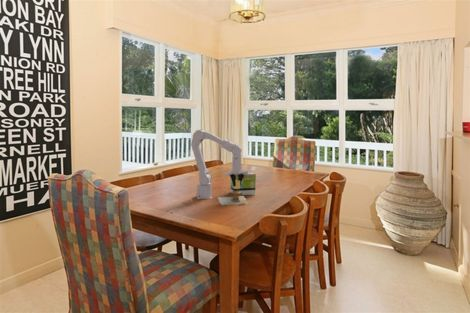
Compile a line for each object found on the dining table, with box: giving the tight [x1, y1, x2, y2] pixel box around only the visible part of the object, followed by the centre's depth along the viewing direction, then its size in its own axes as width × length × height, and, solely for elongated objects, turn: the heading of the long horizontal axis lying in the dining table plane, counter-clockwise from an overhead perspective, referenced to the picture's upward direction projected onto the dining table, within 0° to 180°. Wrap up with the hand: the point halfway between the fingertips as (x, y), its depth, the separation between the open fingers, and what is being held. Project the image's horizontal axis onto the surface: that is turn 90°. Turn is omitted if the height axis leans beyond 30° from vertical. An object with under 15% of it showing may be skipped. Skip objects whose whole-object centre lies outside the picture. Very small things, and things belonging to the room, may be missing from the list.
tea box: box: [229, 171, 257, 196], centre depth 214 cm, size 15×10×15 cm, turn 105°
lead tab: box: [234, 180, 240, 189], centre depth 200 cm, size 3×3×5 cm
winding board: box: [217, 191, 249, 206], centre depth 196 cm, size 16×18×6 cm
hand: (236, 185), depth 201 cm, fingers closed on lead tab, 3 cm apart
